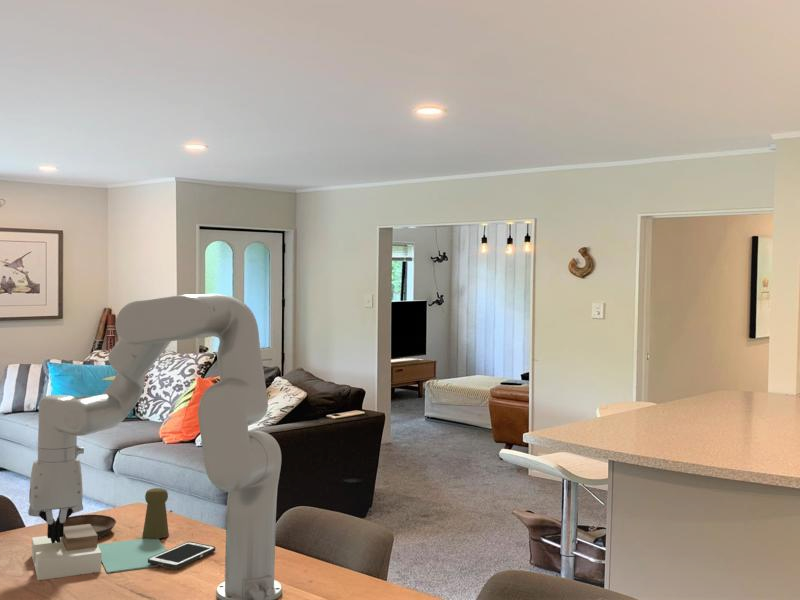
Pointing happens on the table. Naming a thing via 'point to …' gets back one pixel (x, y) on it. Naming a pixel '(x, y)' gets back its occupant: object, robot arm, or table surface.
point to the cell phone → (181, 555)
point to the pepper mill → (156, 514)
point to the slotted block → (62, 559)
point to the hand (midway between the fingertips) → (55, 540)
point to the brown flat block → (79, 537)
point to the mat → (129, 554)
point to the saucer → (93, 523)
